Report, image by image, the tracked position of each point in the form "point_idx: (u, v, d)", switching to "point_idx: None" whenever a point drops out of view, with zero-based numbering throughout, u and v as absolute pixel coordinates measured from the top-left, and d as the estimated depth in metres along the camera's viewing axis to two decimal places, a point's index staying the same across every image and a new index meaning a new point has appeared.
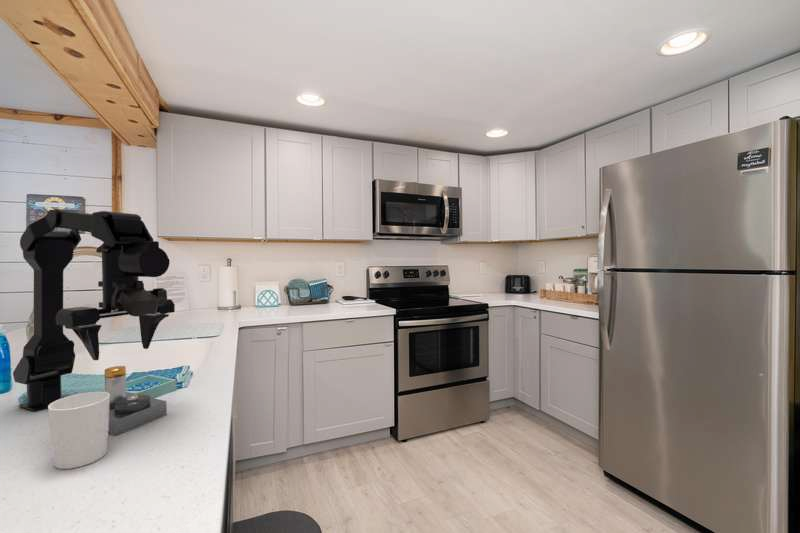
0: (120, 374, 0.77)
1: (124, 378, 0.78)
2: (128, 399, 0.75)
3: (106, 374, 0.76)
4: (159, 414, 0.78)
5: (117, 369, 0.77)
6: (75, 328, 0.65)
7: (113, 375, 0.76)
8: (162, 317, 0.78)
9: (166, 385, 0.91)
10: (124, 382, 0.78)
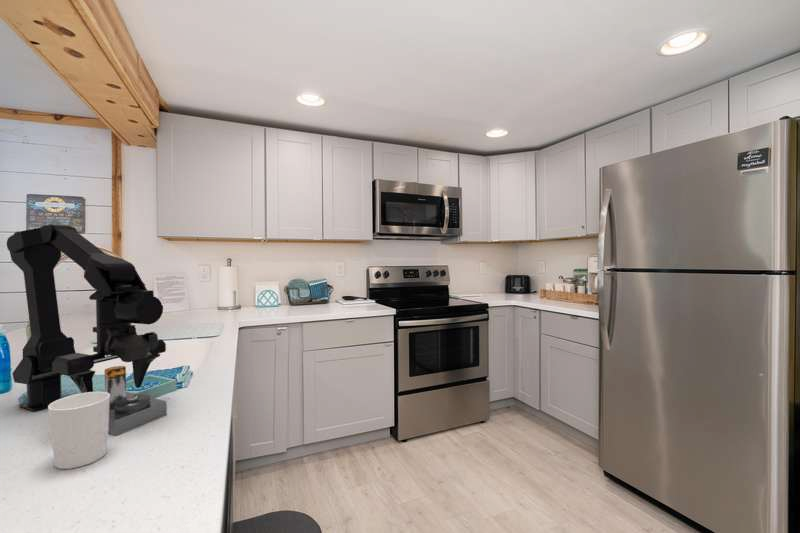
0: (120, 374, 0.77)
1: (124, 378, 0.78)
2: (128, 399, 0.75)
3: (106, 374, 0.76)
4: (159, 414, 0.78)
5: (117, 369, 0.77)
6: (70, 375, 0.70)
7: (113, 375, 0.76)
8: (153, 357, 0.82)
9: (166, 385, 0.91)
10: (124, 382, 0.78)
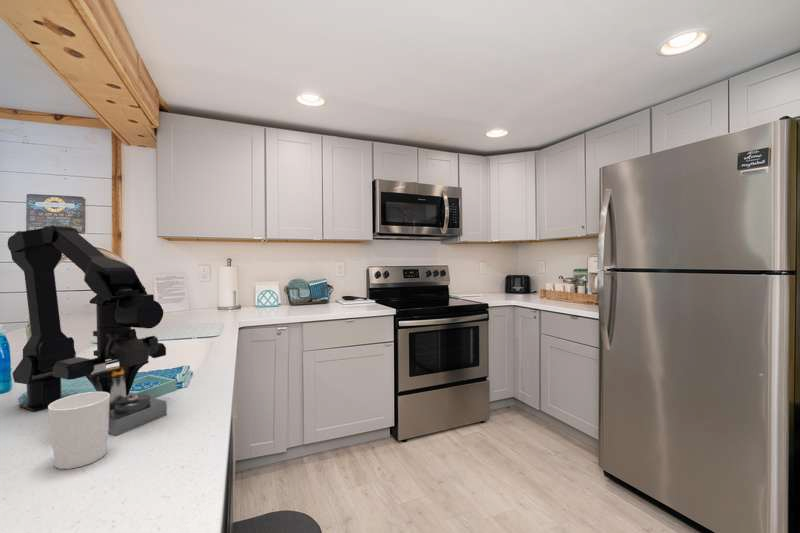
0: (120, 374, 0.77)
1: (124, 378, 0.78)
2: (128, 399, 0.75)
3: None
4: (159, 414, 0.78)
5: (117, 369, 0.77)
6: (87, 375, 0.72)
7: (113, 375, 0.76)
8: (141, 364, 0.80)
9: (166, 385, 0.91)
10: (124, 382, 0.78)
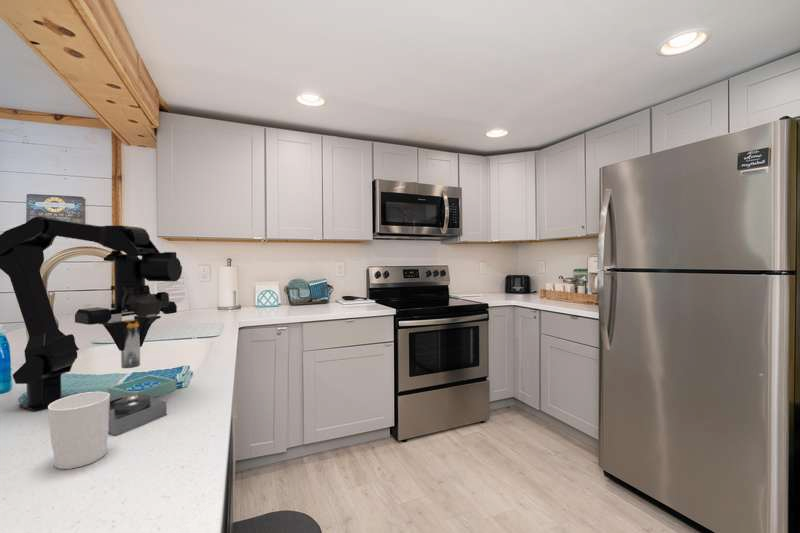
0: (135, 326, 0.84)
1: (138, 330, 0.85)
2: (128, 399, 0.75)
3: None
4: (159, 414, 0.78)
5: (132, 321, 0.84)
6: (105, 323, 0.79)
7: (128, 326, 0.83)
8: (154, 319, 0.87)
9: (166, 385, 0.91)
10: (138, 334, 0.85)
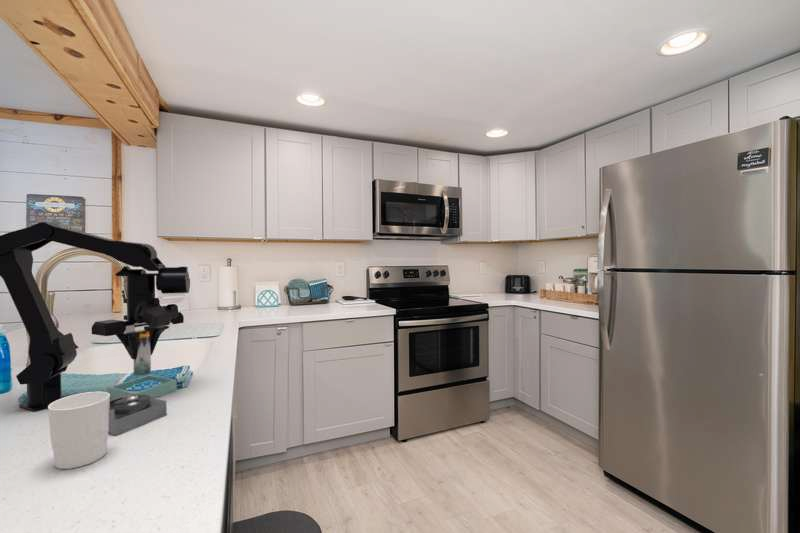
0: (146, 336, 0.90)
1: (149, 339, 0.91)
2: (128, 399, 0.75)
3: None
4: (159, 414, 0.78)
5: (143, 331, 0.90)
6: (120, 334, 0.85)
7: (140, 336, 0.89)
8: (163, 329, 0.93)
9: (166, 385, 0.91)
10: (149, 343, 0.91)
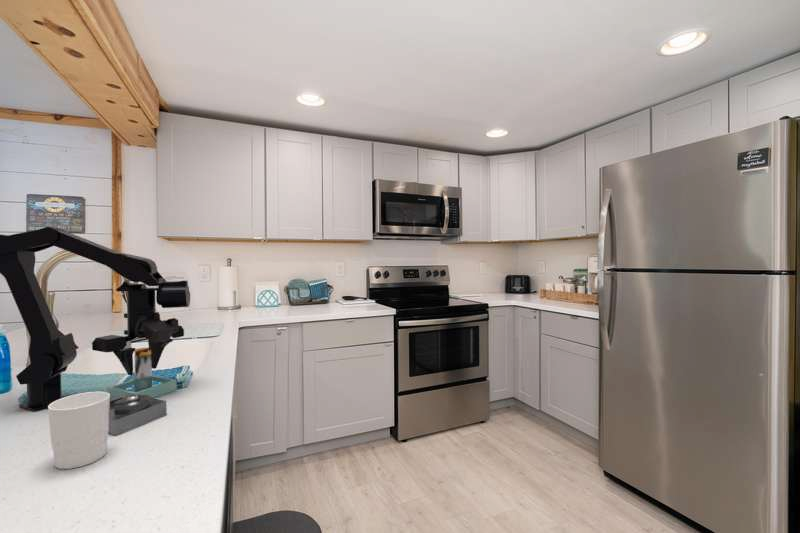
0: (147, 354, 0.90)
1: (150, 358, 0.91)
2: (128, 399, 0.75)
3: (136, 354, 0.89)
4: (159, 414, 0.78)
5: (145, 350, 0.90)
6: (116, 351, 0.85)
7: (142, 354, 0.89)
8: (167, 342, 0.94)
9: (166, 385, 0.91)
10: (151, 361, 0.91)
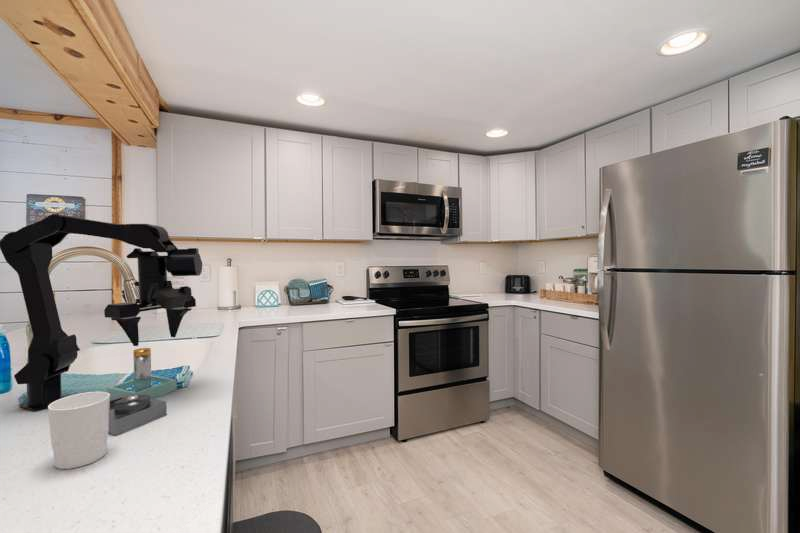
0: (146, 354, 0.90)
1: (149, 358, 0.91)
2: (128, 399, 0.75)
3: (135, 354, 0.89)
4: (159, 414, 0.78)
5: (144, 350, 0.90)
6: (120, 319, 0.81)
7: (141, 355, 0.89)
8: (186, 310, 0.93)
9: (166, 385, 0.91)
10: (150, 361, 0.91)
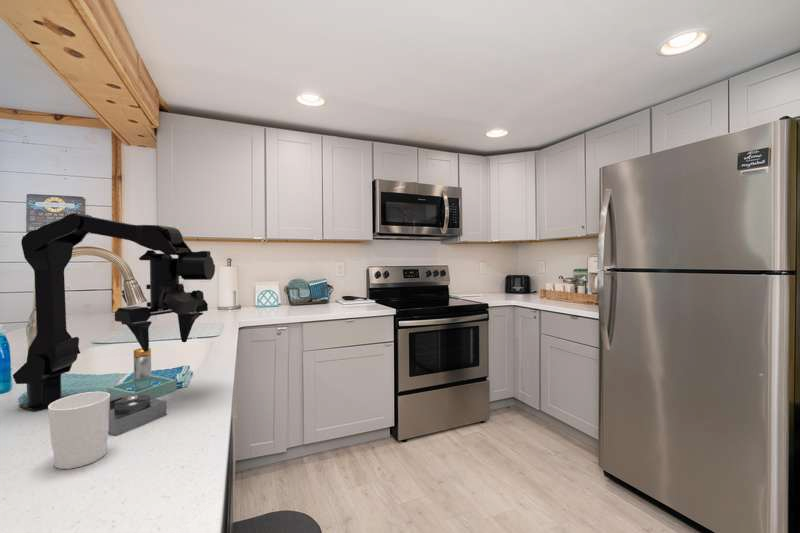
0: (146, 354, 0.90)
1: (150, 358, 0.91)
2: (128, 399, 0.75)
3: (135, 354, 0.89)
4: (159, 414, 0.78)
5: None
6: (131, 324, 0.78)
7: (141, 355, 0.89)
8: (198, 315, 0.91)
9: (166, 385, 0.91)
10: (150, 361, 0.91)
